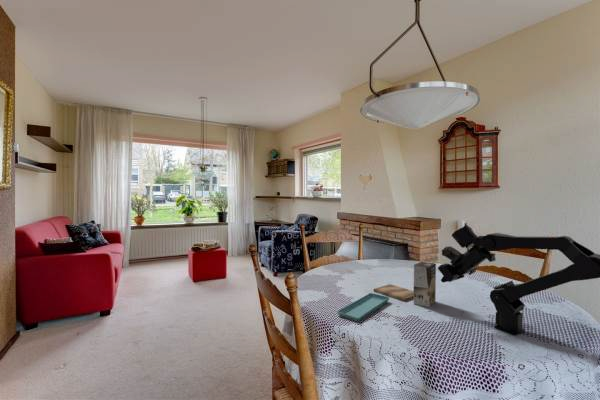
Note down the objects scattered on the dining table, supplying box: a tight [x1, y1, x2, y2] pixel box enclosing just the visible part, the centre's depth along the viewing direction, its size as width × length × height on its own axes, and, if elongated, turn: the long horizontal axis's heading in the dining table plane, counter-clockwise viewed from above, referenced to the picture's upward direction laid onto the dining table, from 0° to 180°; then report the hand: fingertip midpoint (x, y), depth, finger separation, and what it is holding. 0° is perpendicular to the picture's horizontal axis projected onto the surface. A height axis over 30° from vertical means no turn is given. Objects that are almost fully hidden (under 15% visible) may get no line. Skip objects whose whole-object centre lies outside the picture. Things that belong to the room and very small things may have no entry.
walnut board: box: [373, 283, 414, 302], centre depth 133 cm, size 16×12×1 cm
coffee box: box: [412, 261, 437, 308], centre depth 122 cm, size 9×6×16 cm
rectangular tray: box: [336, 292, 390, 322], centre depth 116 cm, size 26×9×2 cm, turn 139°
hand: (442, 281), depth 116 cm, fingers closed
